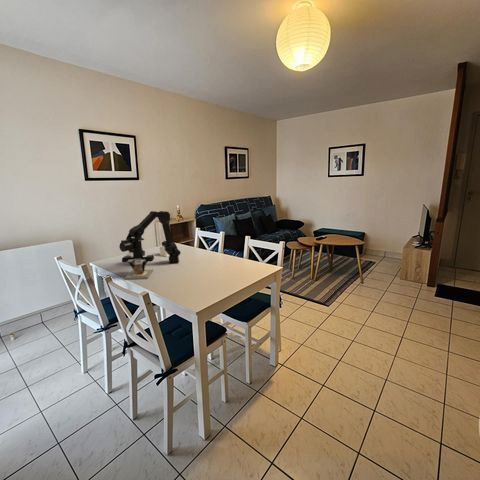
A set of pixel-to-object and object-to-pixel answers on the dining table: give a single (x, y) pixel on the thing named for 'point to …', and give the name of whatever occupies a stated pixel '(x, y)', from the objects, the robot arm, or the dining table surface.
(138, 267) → the cube
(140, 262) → the container
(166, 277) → the dining table surface
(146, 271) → the coaster
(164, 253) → the medicine bottle
